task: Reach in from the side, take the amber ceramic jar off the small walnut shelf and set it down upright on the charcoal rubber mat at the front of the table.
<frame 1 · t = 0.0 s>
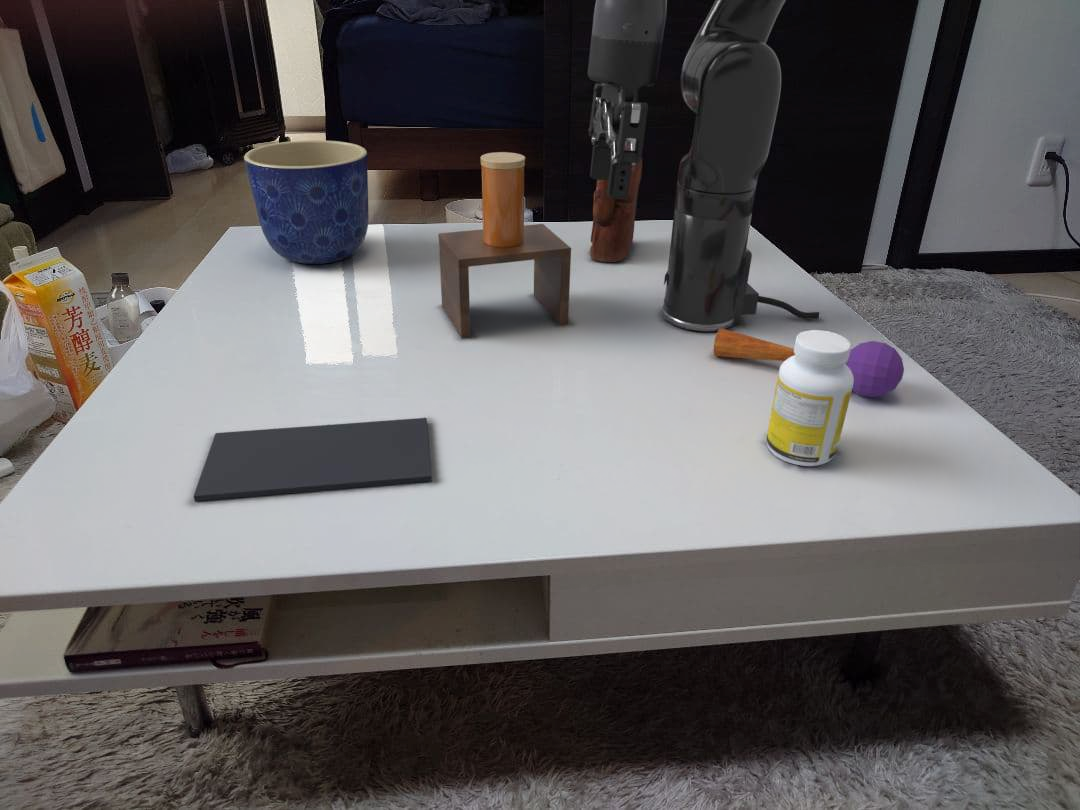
hand: (607, 188, 90), 17 cm above the table, tool pointing down, fingers open, 8 cm apart
mat: (320, 458, 71), on the table
planter: (320, 256, 118), on the table
pill bottle: (799, 451, 74), on the table
purple and wooden maraca: (800, 378, 87), on the table
jar: (503, 240, 95), point 10 cm above the table, touching shelf
shelf: (503, 315, 100), on the table
wooden figurine: (611, 253, 122), on the table
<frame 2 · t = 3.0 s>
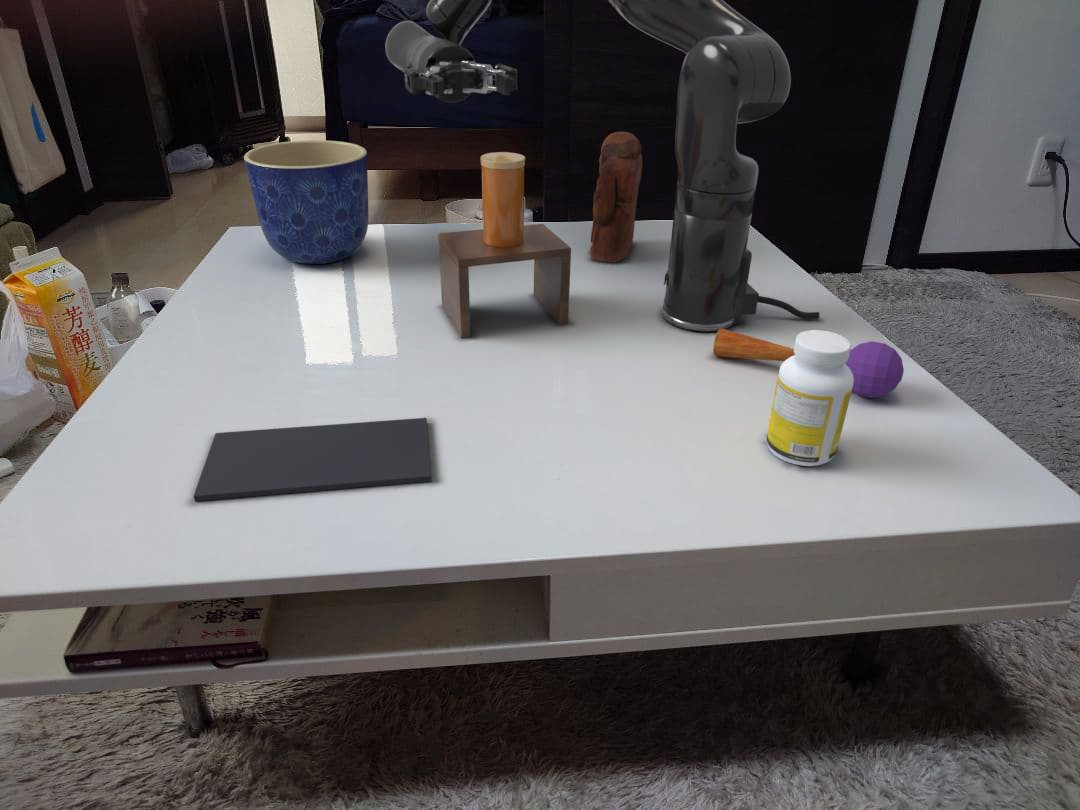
hand: (475, 87, 96), 26 cm above the table, tool horizontal, fingers open, 8 cm apart
nothing on the table moved.
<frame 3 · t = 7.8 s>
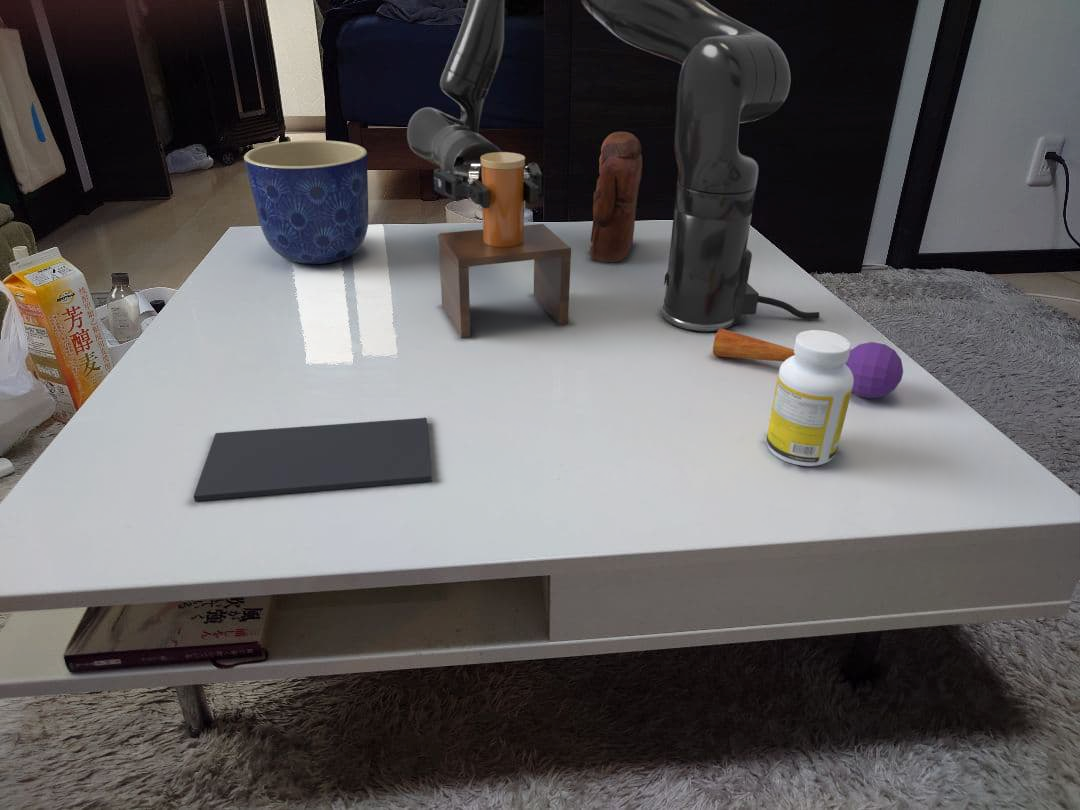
hand: (510, 197, 90), 16 cm above the table, tool horizontal, fingers closed on jar, 5 cm apart
jar: (503, 240, 95), point 10 cm above the table, touching gripper, shelf
everything else where it was.
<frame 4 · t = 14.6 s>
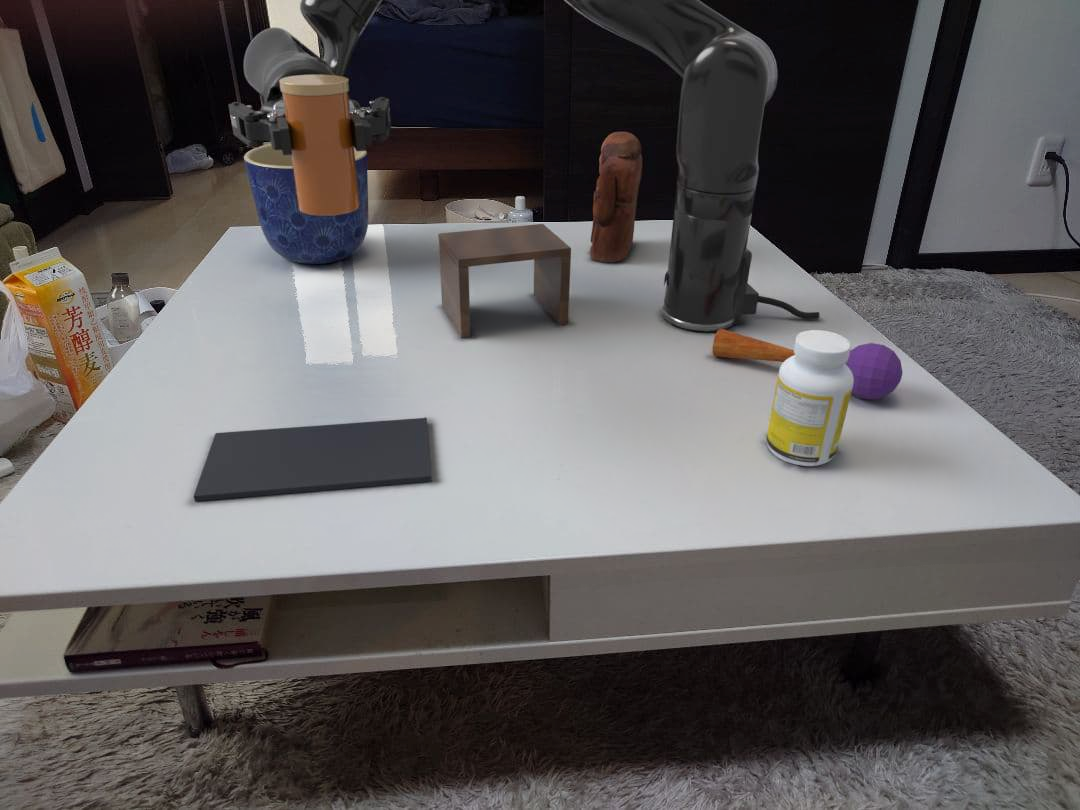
hand: (324, 139, 60), 28 cm above the table, tool horizontal, fingers closed on jar, 5 cm apart
jar: (329, 206, 65), point 22 cm above the table, touching gripper
everything else where it was.
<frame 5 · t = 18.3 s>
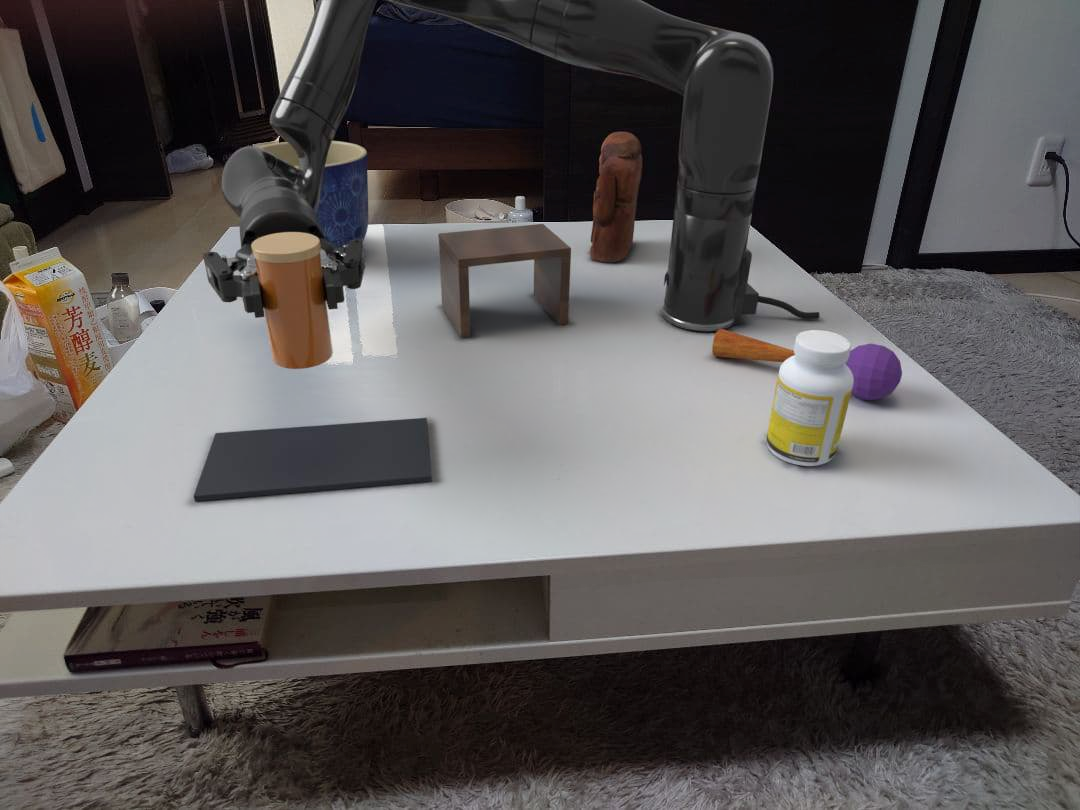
hand: (295, 301, 61), 17 cm above the table, tool horizontal, fingers closed on jar, 5 cm apart
jar: (302, 355, 66), point 11 cm above the table, touching gripper
everything else where it was.
when the fingers open (7 cm above the table, at t = 21.4 s): jar stays where it is, resting on mat.
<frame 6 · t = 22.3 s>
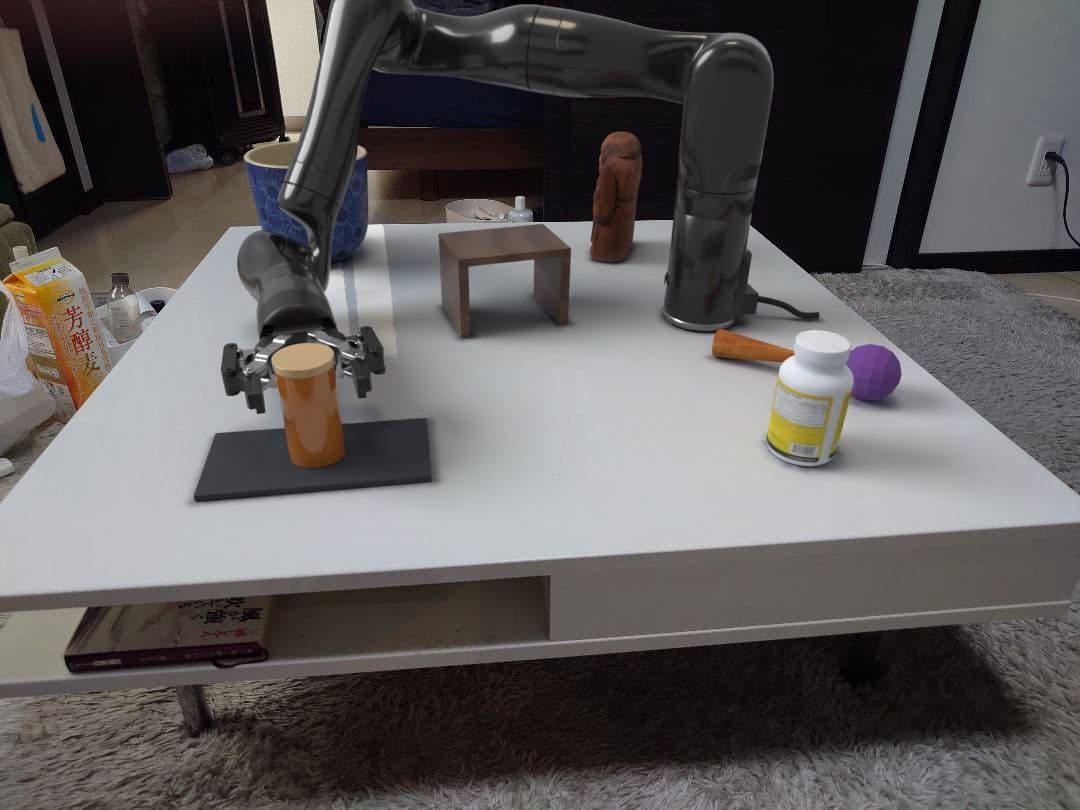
hand: (311, 396, 66), 7 cm above the table, tool horizontal, fingers open, 8 cm apart
jar: (317, 452, 71), point 1 cm above the table, touching mat
everything else where it was.
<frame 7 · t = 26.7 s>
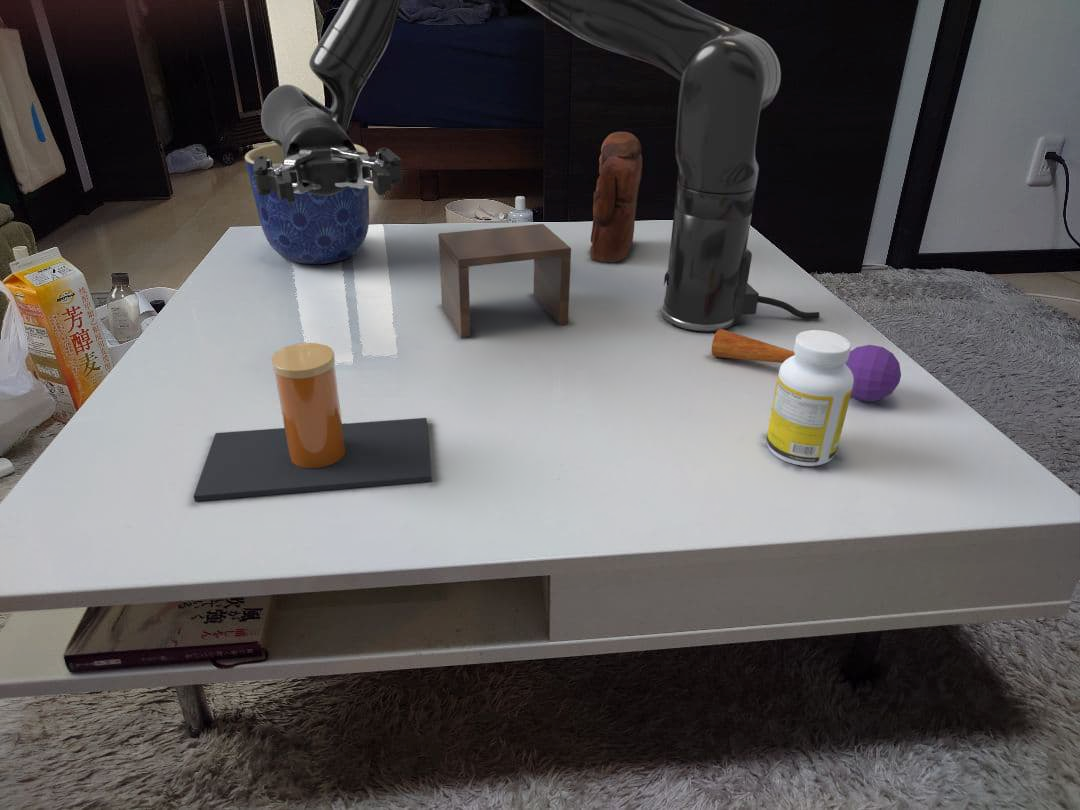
hand: (337, 188, 73), 21 cm above the table, tool horizontal, fingers open, 8 cm apart
nothing on the table moved.
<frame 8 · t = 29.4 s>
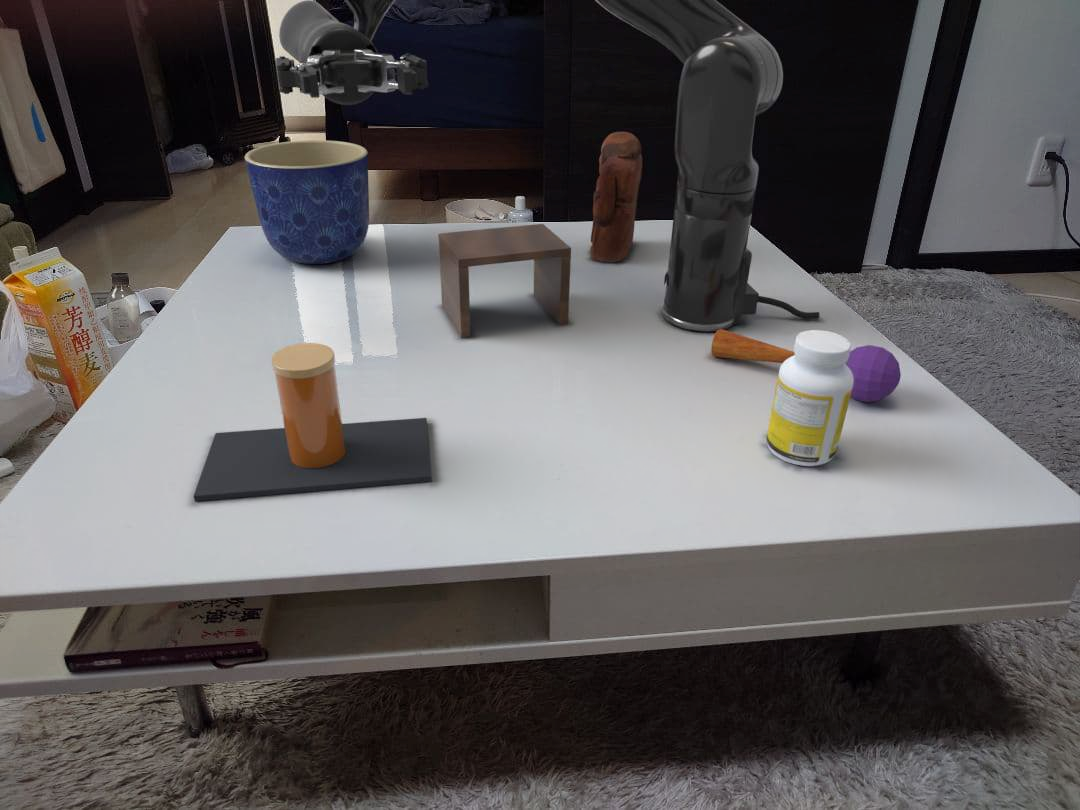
hand: (362, 83, 71), 30 cm above the table, tool horizontal, fingers open, 8 cm apart
nothing on the table moved.
at the end: jar inside the target area on the mat (0.1 cm from its centre), point 0.6 cm above the mat's base; jar tilted 0°; the gripper is holding nothing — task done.
